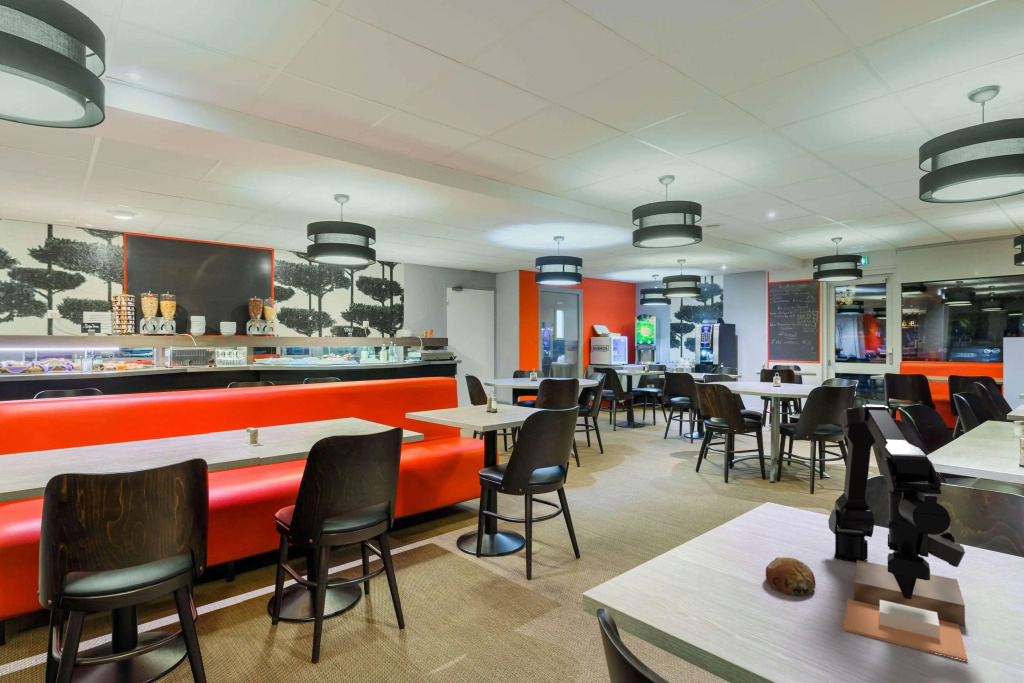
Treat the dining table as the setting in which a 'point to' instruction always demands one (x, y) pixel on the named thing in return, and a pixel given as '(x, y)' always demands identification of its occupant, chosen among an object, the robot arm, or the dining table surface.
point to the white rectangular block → (909, 619)
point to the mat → (902, 631)
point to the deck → (927, 594)
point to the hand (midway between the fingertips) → (907, 598)
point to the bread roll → (790, 576)
